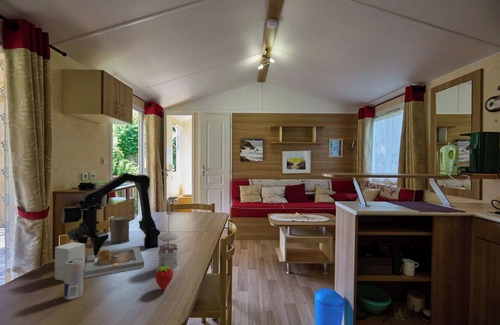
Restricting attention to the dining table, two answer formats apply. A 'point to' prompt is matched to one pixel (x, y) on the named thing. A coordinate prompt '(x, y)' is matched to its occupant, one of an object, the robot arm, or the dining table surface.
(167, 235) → the french press
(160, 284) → the strawberry
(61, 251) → the supplement box
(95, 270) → the dial plate
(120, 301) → the dining table surface
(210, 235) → the dining table surface
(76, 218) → the robot arm
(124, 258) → the dial
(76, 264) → the energy drink
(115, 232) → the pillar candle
